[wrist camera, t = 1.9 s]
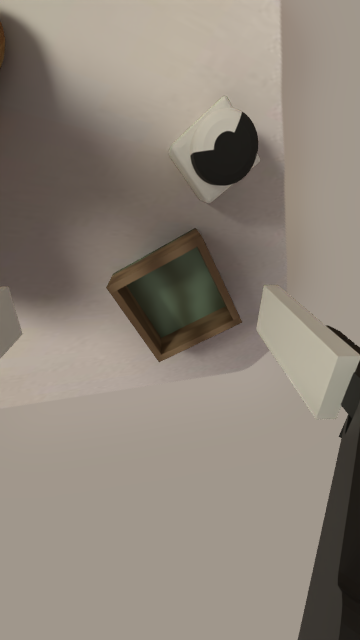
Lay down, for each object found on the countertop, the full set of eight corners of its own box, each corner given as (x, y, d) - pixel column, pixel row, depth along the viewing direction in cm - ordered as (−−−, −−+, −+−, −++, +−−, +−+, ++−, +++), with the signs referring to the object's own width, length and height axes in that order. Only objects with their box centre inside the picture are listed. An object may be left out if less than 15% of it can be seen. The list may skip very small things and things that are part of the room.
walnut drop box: (159, 341, 46) (159, 362, 41) (113, 273, 40) (106, 287, 35) (232, 305, 44) (242, 322, 39) (195, 228, 38) (201, 235, 33)
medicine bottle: (243, 164, 35) (281, 156, 24) (200, 201, 37) (217, 208, 26) (212, 110, 32) (240, 74, 21) (167, 153, 34) (171, 139, 23)
